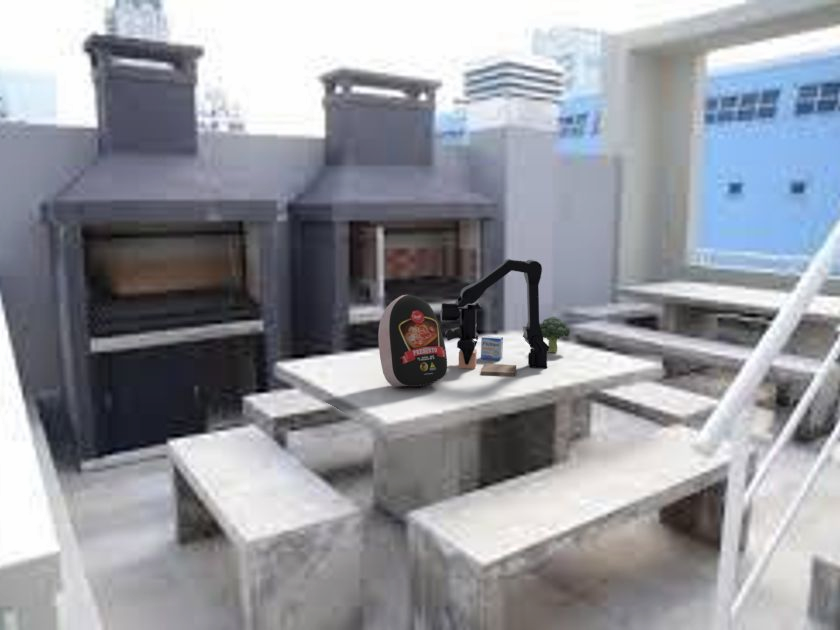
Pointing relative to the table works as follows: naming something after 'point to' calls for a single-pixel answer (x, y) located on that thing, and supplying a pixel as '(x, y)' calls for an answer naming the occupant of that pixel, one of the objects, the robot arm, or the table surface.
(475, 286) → the robot arm
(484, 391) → the table surface
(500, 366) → the walnut board
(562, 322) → the vegetable
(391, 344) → the packaged food
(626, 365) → the table surface
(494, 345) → the medicine box
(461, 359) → the terracotta cube
